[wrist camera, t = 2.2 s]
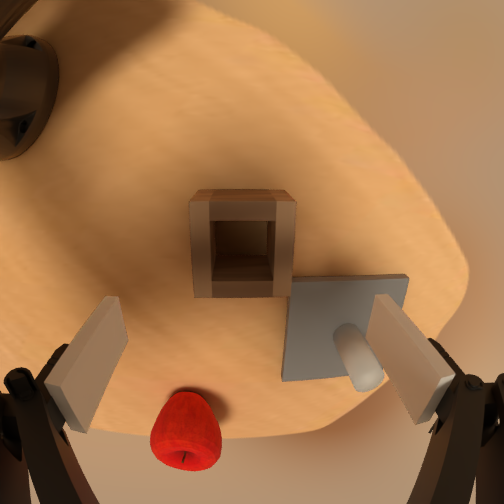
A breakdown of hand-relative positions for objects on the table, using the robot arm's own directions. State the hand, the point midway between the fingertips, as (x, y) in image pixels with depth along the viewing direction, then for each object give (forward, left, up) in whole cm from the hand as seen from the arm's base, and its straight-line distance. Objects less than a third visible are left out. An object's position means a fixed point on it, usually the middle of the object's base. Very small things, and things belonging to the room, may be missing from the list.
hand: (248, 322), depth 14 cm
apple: (+24, -7, -16) cm, 29 cm away
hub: (0, 0, -15) cm, 15 cm away
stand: (+12, +12, -15) cm, 23 cm away
